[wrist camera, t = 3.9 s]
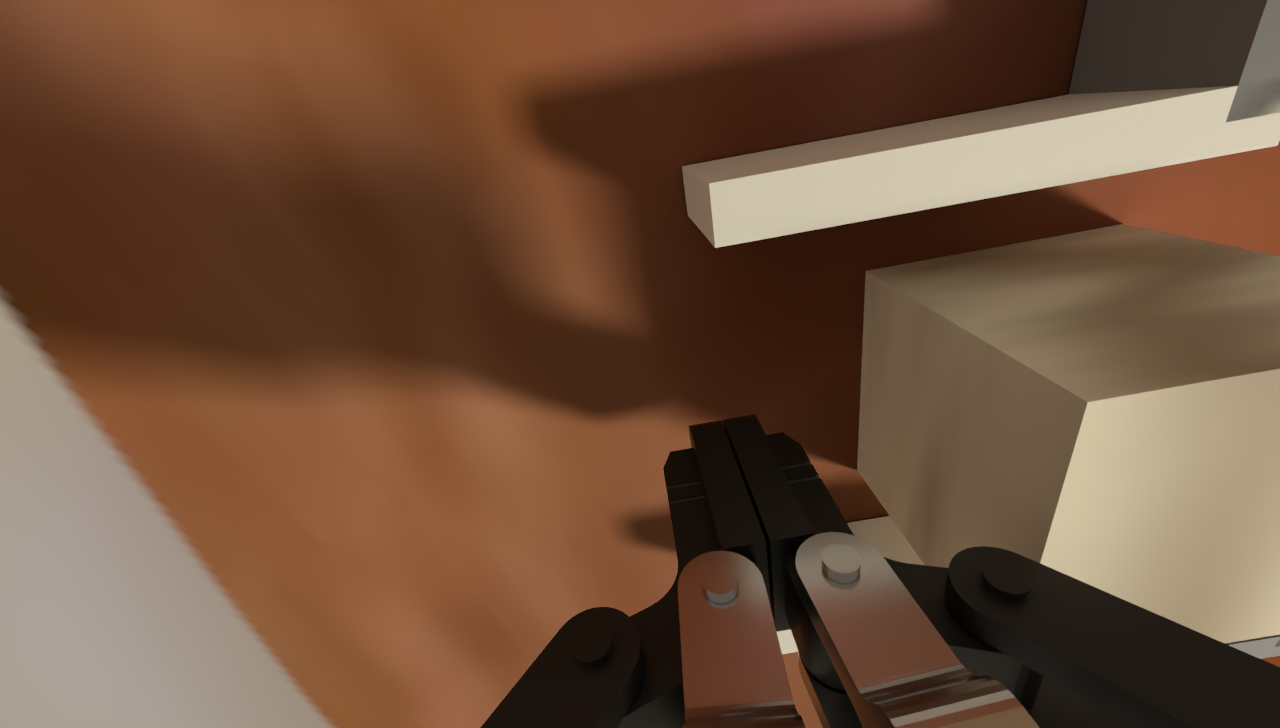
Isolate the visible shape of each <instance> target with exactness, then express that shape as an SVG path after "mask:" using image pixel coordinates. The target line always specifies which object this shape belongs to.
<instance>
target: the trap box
mask: <svg viewBox="0 0 1280 728" xmlns="http://www.w3.org/2000/svg"><path fill="white" fill-rule="evenodd" d="M1279 140H1280V0H1088V2H1087V6H1086V11H1085V16H1084V21H1083V26H1082V31H1081V36H1080V40H1079V45H1078V50H1077V55H1076V60H1075V65H1074V70H1073V75H1072V79H1071V84H1070V89H1069V94H1068V95H1063V96H1058V97H1052V98H1047V99H1042V100H1036V101H1031V102H1026V103H1020V104H1015V105H1009V106H1004V107H999V108H993V109H988V110H983V111H977V112H972V113H966V114H961V115H956V116H950V117H945V118H939V119H934V120H929V121H923V122H918V123H913V124H907V125H902V126H896V127H891V128H886V129H880V130H875V131H869V132H864V133H859V134H853V135H848V136H843V137H837V138H832V139H826V140H821V141H816V142H810V143H805V144H800V145H794V146H789V147H783V148H778V149H773V150H767V151H762V152H756V153H751V154H746V155H740V156H735V157H730V158H724V159H719V160H713V161H708V162H703V163H697V164H692V165H687V166H682V172H683V181H684V189H685V198H686V206H687V214H688V216H689V218H690V219H691V220H692V221H693V222H694V223H695V225H696V226H697V227H698V228H699V229H700V231H701V232H702V233H703V234H704V235H705V237H706V238H707V239H708V240H709V241H710V242H711V244H712V245H713V246H714V247H715V248H718V247H724V246H729V245H735V244H740V243H746V242H751V241H757V240H762V239H768V238H773V237H779V236H784V235H790V234H795V233H801V232H806V231H812V230H817V229H823V228H828V227H834V226H839V225H845V224H850V223H856V222H861V221H866V220H872V219H877V218H883V217H888V216H894V215H899V214H905V213H910V212H916V211H921V210H927V209H932V208H938V207H943V206H949V205H954V204H960V203H965V202H971V201H976V200H982V199H987V198H993V197H998V196H1004V195H1009V194H1015V193H1020V192H1026V191H1031V190H1037V189H1042V188H1048V187H1053V186H1059V185H1064V184H1070V183H1075V182H1080V181H1086V180H1091V179H1097V178H1102V177H1108V176H1113V175H1119V174H1124V173H1130V172H1135V171H1141V170H1146V169H1152V168H1157V167H1163V166H1168V165H1174V164H1179V163H1185V162H1190V161H1196V160H1201V159H1207V158H1212V157H1218V156H1223V155H1229V154H1234V153H1240V152H1245V151H1251V150H1256V149H1262V148H1267V147H1273V146H1277V145H1278V143H1279ZM847 524H848V526H849V528H850V529H851V531H852V533H853V534H854V535H855V536H856V537H859V538H861V539H863V540H865V541H866V542H868V543H869V544H871V545H872V546H873V547H874V548H876V549H877V550H878V551H879V552H880V554H881V555H882V556H883V557H886V558H888V559H891V560H894V561H898V562H903V563H909V564H917V565H924V563H923V562H922V561H921V559H920V558H919V556H918V555H917V554H916V552H915V551H914V549H913V548H912V547H911V545H910V544H909V542H908V541H907V540H906V538H905V537H904V535H903V534H902V533H901V531H900V530H899V528H898V527H897V525H896V524H895V523H894V521H893V520H892V518H891V517H890V516H885V517H880V518H874V519H868V520H862V521H856V522H850V523H847ZM777 636H778V640H779V644H780V648H781V652H782V654H787V653H793V652H798V648H797V646H796V643H795V640H794V637H793V634H792V632H791V629H790V630H784V631H778V632H777ZM1225 644H1227V645H1229V646H1231V647H1234V648H1236V649H1238V650H1241V651H1243V652H1245V653H1247V654H1250V655H1252V656H1254V657H1257V658H1259V659H1261V658H1267V657H1273V656H1280V635H1274V636H1268V637H1262V638H1256V639H1249V640H1243V641H1237V642H1231V643H1225Z"/></svg>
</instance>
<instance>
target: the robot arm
mask: <svg viewBox="0 0 1280 728" xmlns="http://www.w3.org/2000/svg"><path fill="white" fill-rule="evenodd" d="M689 433H690V440H691V446H692V448H690V449H684V450H678V451H673V452H670V454H669V456H668V459H667V461H666V464H665V466H664V468H663V469H664V475H665V481H666V487H667V494H668V500H669V507H670V513H671V519H672V526H673V532H674V538H675V545H676V551H677V557H678V573H677V576H676V580H675V582H674V584H673V586H672V587H671V589H670V590H669V591H668V593H667V594H666V595H665V596H664V597H663V598H662V599H660V600H659V601H658V602H657V603H655V604H653V605H652V606H650V607H648V608H646V609H644V610H642V611H640V612H638V613H636V614H634V615H632V616H630V617H629V616H628V615H626V614H625V613H623V612H622V611H619V610H617V609H614V608H609V607H597V608H592V609H588V610H585V611H583V612H581V613H579V614H577V615H576V616H574V617H572V618H571V619H570V620H569V621H568V622H566V623H565V624H564V626H563V627H562V628H561V629H560V630H559V631H558V633H557V634H556V635H555V636H554V637H553V639H552V640H551V641H550V642H549V644H548V645H547V646H546V647H545V649H544V650H543V651H542V652H541V654H540V655H539V656H538V657H537V659H536V660H535V661H534V662H533V663H532V665H531V666H530V667H529V668H528V670H527V671H526V672H525V673H524V675H523V676H522V677H521V678H520V680H519V681H518V682H517V683H516V685H515V686H514V687H513V688H512V690H511V691H510V692H509V693H508V694H507V696H506V697H505V698H504V699H503V701H502V702H501V703H500V704H499V706H498V707H497V708H496V709H495V711H494V712H493V713H492V714H491V716H490V717H489V718H488V719H487V720H486V722H485V723H484V724H483V725H482V727H481V728H805V725H804V722H803V720H802V717H801V716H800V715H799V714H798V713H797V711H796V708H795V705H794V701H793V697H792V693H791V689H790V685H789V681H788V677H787V673H786V669H785V665H784V660H783V656H782V652H781V648H780V644H779V640H778V636H777V632H778V631H784V630H790V629H791V632H792V634H793V637H794V640H795V643H796V646H797V648H798V662H799V670H800V674H801V677H802V679H803V682H804V684H805V686H806V689H807V691H808V693H809V696H810V698H811V700H812V703H813V705H814V707H815V710H816V712H817V715H818V717H819V719H820V722H821V724H822V726H823V728H1280V667H1277V666H1275V665H1273V664H1270V663H1268V662H1266V661H1264V660H1261V659H1259V658H1257V657H1254V656H1252V655H1250V654H1247V653H1245V652H1243V651H1241V650H1238V649H1236V648H1234V647H1231V646H1229V645H1227V644H1224V643H1222V642H1220V641H1218V640H1215V639H1213V638H1211V637H1208V636H1206V635H1204V634H1201V633H1199V632H1197V631H1195V630H1192V629H1190V628H1188V627H1185V626H1183V625H1181V624H1178V623H1176V622H1174V621H1172V620H1169V619H1167V618H1165V617H1162V616H1160V615H1158V614H1155V613H1153V612H1151V611H1149V610H1146V609H1144V608H1142V607H1139V606H1137V605H1135V604H1132V603H1130V602H1128V601H1125V600H1123V599H1121V598H1119V597H1116V596H1114V595H1112V594H1109V593H1107V592H1105V591H1102V590H1100V589H1098V588H1096V587H1093V586H1091V585H1089V584H1086V583H1084V582H1082V581H1079V580H1077V579H1075V578H1073V577H1070V576H1068V575H1066V574H1063V573H1061V572H1059V571H1056V570H1054V569H1052V568H1050V567H1047V566H1045V565H1043V564H1040V563H1038V562H1036V561H1033V560H1031V559H1029V558H1027V557H1024V556H1022V555H1020V554H1017V553H1014V552H1012V551H1008V550H1005V549H1001V548H996V547H986V546H979V547H971V548H967V549H964V550H962V551H960V552H958V553H957V554H956V555H955V556H954V557H953V558H952V559H951V562H950V564H949V568H945V567H935V566H926V565H917V564H909V563H903V562H898V561H894V560H891V559H888V558H886V557H883V556H882V555H881V554H880V552H879V551H878V550H877V549H876V548H874V547H873V546H872V545H871V544H869V543H868V542H866V541H865V540H863V539H861V538H859V537H856V536H855V535H854V534H853V533H852V531H851V529H850V528H849V526H848V524H847V523H846V521H845V519H844V518H843V516H842V514H841V512H840V511H839V509H838V507H837V506H836V504H835V502H834V501H833V499H832V497H831V495H830V494H829V492H828V490H827V489H826V487H825V485H824V484H823V482H822V480H821V479H819V476H818V473H817V472H816V470H815V468H814V467H813V465H811V463H810V460H809V458H808V456H807V455H806V453H805V451H804V450H803V448H802V446H801V445H800V444H799V443H797V442H796V441H795V440H793V439H792V438H790V437H789V436H787V435H786V434H785V433H783V432H782V433H776V434H771V435H765V433H764V431H763V429H762V427H761V425H760V423H759V421H758V419H757V417H756V415H748V416H742V417H737V418H731V419H725V420H722V422H721V421H714V422H709V423H703V424H697V425H691V426H689Z"/></svg>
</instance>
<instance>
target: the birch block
mask: <svg viewBox="0 0 1280 728" xmlns="http://www.w3.org/2000/svg"><path fill="white" fill-rule="evenodd" d="M857 471H858V472H859V473H860V475H861V476H862V478H863V479H864V480H865V482H866V483H867V485H868V486H869V488H870V489H871V490H872V492H873V493H874V495H875V496H876V497H877V499H878V500H879V502H880V503H881V504H882V506H883V507H884V509H885V510H886V511H887V513H888V514H889V516H890V517H891V518H892V520H893V521H894V523H895V524H896V525H897V527H898V528H899V530H900V531H901V533H902V534H903V535H904V537H905V538H906V540H907V541H908V542H909V544H910V545H911V547H912V548H913V549H914V551H915V552H916V554H917V555H918V556H919V558H920V559H921V561H922V562H923V563H924V565H926V566H935V567H945V568H949V564H950V562H951V559H952V558H953V557H954V556H955V555H956V554H957V553H958V552H960V551H962V550H964V549H967V548H971V547H979V546H986V547H996V548H1001V549H1005V550H1008V551H1012V552H1014V553H1017V554H1020V555H1022V556H1024V557H1027V558H1029V559H1031V560H1033V561H1036V562H1038V563H1040V564H1043V565H1045V566H1047V567H1050V568H1052V569H1054V570H1056V571H1059V572H1061V573H1063V574H1066V575H1068V576H1070V577H1073V578H1075V579H1077V580H1079V581H1082V582H1084V583H1086V584H1089V585H1091V586H1093V587H1096V588H1098V589H1100V590H1102V591H1105V592H1107V593H1109V594H1112V595H1114V596H1116V597H1119V598H1121V599H1123V600H1125V601H1128V602H1130V603H1132V604H1135V605H1137V606H1139V607H1142V608H1144V609H1146V610H1149V611H1151V612H1153V613H1155V614H1158V615H1160V616H1162V617H1165V618H1167V619H1169V620H1172V621H1174V622H1176V623H1178V624H1181V625H1183V626H1185V627H1188V628H1190V629H1192V630H1195V631H1197V632H1199V633H1201V634H1204V635H1206V636H1208V637H1211V638H1213V639H1215V640H1218V641H1220V642H1222V643H1224V644H1225V643H1231V642H1237V641H1243V640H1249V639H1256V638H1262V637H1268V636H1274V635H1280V256H1276V255H1271V254H1266V253H1261V252H1256V251H1251V250H1247V249H1242V248H1237V247H1232V246H1227V245H1222V244H1217V243H1213V242H1208V241H1203V240H1198V239H1193V238H1188V237H1183V236H1179V235H1174V234H1169V233H1164V232H1159V231H1154V230H1149V229H1145V228H1140V227H1135V226H1130V225H1125V224H1120V225H1115V226H1109V227H1104V228H1098V229H1093V230H1087V231H1082V232H1076V233H1071V234H1065V235H1060V236H1054V237H1049V238H1043V239H1038V240H1032V241H1027V242H1021V243H1016V244H1010V245H1005V246H1000V247H994V248H989V249H983V250H978V251H972V252H967V253H961V254H956V255H950V256H945V257H939V258H934V259H928V260H923V261H917V262H912V263H906V264H901V265H895V266H890V267H884V268H879V269H873V270H868V271H866V275H865V298H864V321H863V345H862V368H861V391H860V414H859V437H858V461H857Z"/></svg>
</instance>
